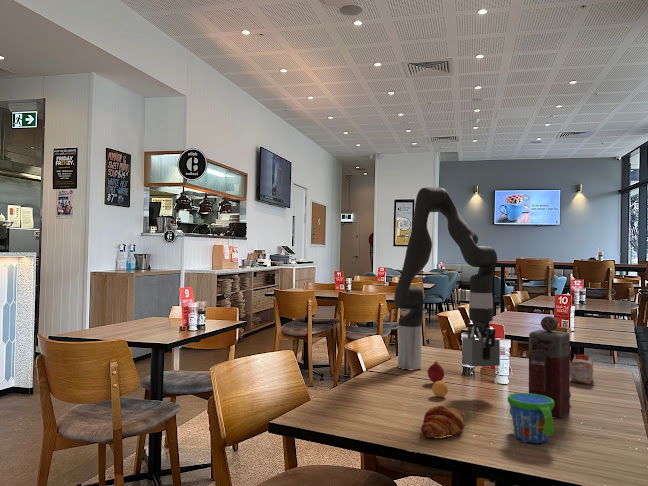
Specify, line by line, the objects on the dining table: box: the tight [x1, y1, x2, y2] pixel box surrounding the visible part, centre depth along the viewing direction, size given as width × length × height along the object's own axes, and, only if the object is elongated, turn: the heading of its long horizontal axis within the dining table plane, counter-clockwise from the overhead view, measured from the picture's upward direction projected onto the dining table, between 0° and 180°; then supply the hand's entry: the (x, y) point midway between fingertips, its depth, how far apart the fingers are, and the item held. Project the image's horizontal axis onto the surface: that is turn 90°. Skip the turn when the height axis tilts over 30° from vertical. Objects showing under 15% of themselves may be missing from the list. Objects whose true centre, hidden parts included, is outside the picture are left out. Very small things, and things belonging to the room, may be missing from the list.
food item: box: [570, 353, 594, 385], centre depth 187 cm, size 14×8×10 cm, turn 152°
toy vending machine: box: [528, 315, 571, 420], centre depth 146 cm, size 9×11×28 cm
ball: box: [431, 380, 449, 398], centre depth 162 cm, size 5×5×5 cm
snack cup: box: [507, 392, 555, 444], centre depth 125 cm, size 16×10×10 cm
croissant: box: [420, 405, 466, 438], centre depth 130 cm, size 21×10×8 cm, turn 141°
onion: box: [427, 360, 445, 384], centre depth 179 cm, size 6×6×8 cm
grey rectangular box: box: [461, 336, 501, 367], centre depth 165 cm, size 6×10×8 cm, turn 102°
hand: (480, 357), depth 165 cm, fingers closed on grey rectangular box, 6 cm apart
